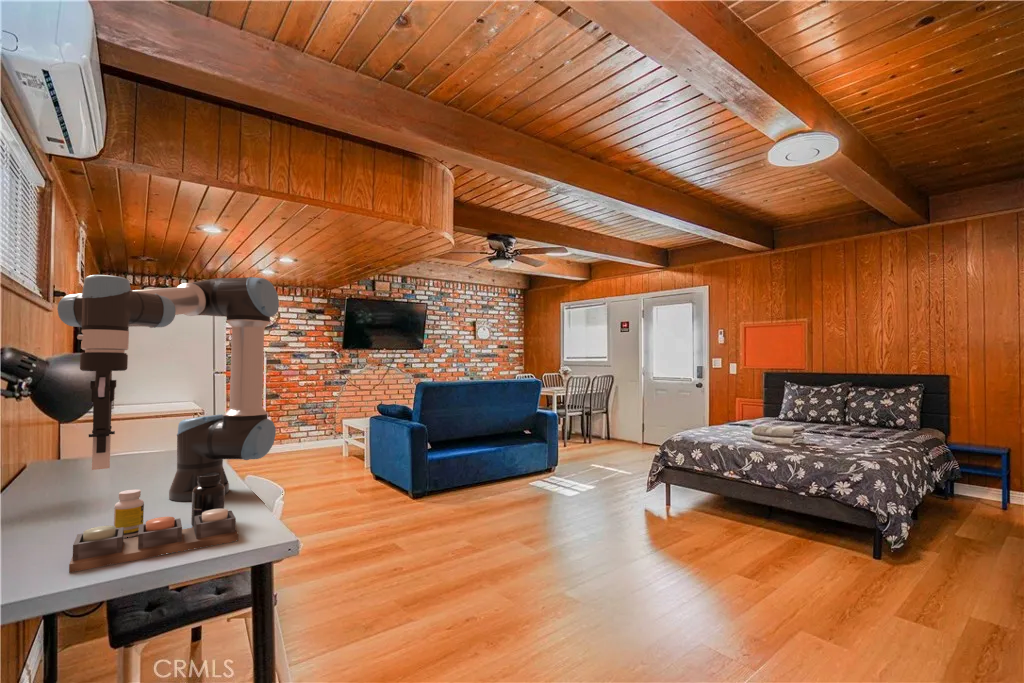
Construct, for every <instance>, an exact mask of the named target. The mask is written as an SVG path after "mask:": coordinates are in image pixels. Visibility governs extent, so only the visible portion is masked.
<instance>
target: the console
mask: <svg viewBox="0 0 1024 683" xmlns="http://www.w3.org/2000/svg"><path fill="white" fill-rule="evenodd" d="M236 521H237V518H236V516H235V514H234V513H233V511H232V510H228V519H223V520H216V521H210V522H204V523H202V515H199V516H194V527H189V528H183V525H182V520H181V517H180V518H175V526H174V528H167V529H161V530H155V531H149V532H146V523H143V524H141V525H139V533H138V535H137V536H133V537H128V538H123V535H124V527H121V528H116V529H115V537H112V538H106V539H100V540H94V541H88V542H83V533H78V534H76V537H75V540H74V541H73V544H72V556H71V559H70V562H69V563H68V566H69V567H68V573H75V572H80V571H85V570H89V569H96V568H102V567H105V566H106V567H107V566H113V565H116V564H121V563H127V562H133V561H138V560H143V559H144V560H145V559H149V558H153V557H154V556H155V557H158V555H160V556H162V555H161V554H165V555H167V554H166V553H171V554H173V553H172V552H176V553H179V552H178V551H181V552H185V551H184V550H187V551H189V550H188V549H192V550H195V549H194V548H197V549H201V548H200V547H203V548H207V547H206V546H208V547H212V546H211V545H213V546H218V545H217V544H219V545H223V544H222V543H224V544H229V543H233V542H232V541H235V542H237V541H236V540H238V541H239V532H238V530H237V529H236V526H237V525H236V523H237V522H236Z"/></svg>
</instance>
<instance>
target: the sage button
mask: <svg viewBox="0 0 1024 683" xmlns="http://www.w3.org/2000/svg"><path fill="white" fill-rule="evenodd" d="M115 529H116V527H115V526H114V525H100V526H95V527H92V528H88V529H85V530H84V531H83V533H82V534H83V542H88V541H94V540H100V539H106V538H112V537H115Z"/></svg>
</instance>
